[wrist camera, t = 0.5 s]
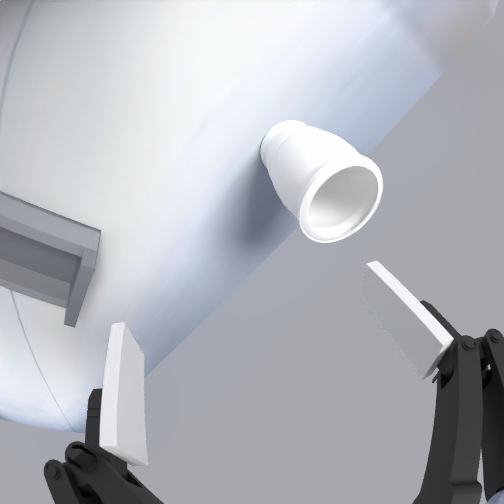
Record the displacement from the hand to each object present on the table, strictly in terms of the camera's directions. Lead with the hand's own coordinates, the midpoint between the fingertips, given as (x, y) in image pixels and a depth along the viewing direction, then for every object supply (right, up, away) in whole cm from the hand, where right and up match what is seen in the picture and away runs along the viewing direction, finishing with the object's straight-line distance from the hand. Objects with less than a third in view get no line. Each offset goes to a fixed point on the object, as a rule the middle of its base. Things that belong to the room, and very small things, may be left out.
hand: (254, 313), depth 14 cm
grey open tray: (-37, +5, +17) cm, 41 cm away
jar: (+5, +18, +23) cm, 30 cm away
